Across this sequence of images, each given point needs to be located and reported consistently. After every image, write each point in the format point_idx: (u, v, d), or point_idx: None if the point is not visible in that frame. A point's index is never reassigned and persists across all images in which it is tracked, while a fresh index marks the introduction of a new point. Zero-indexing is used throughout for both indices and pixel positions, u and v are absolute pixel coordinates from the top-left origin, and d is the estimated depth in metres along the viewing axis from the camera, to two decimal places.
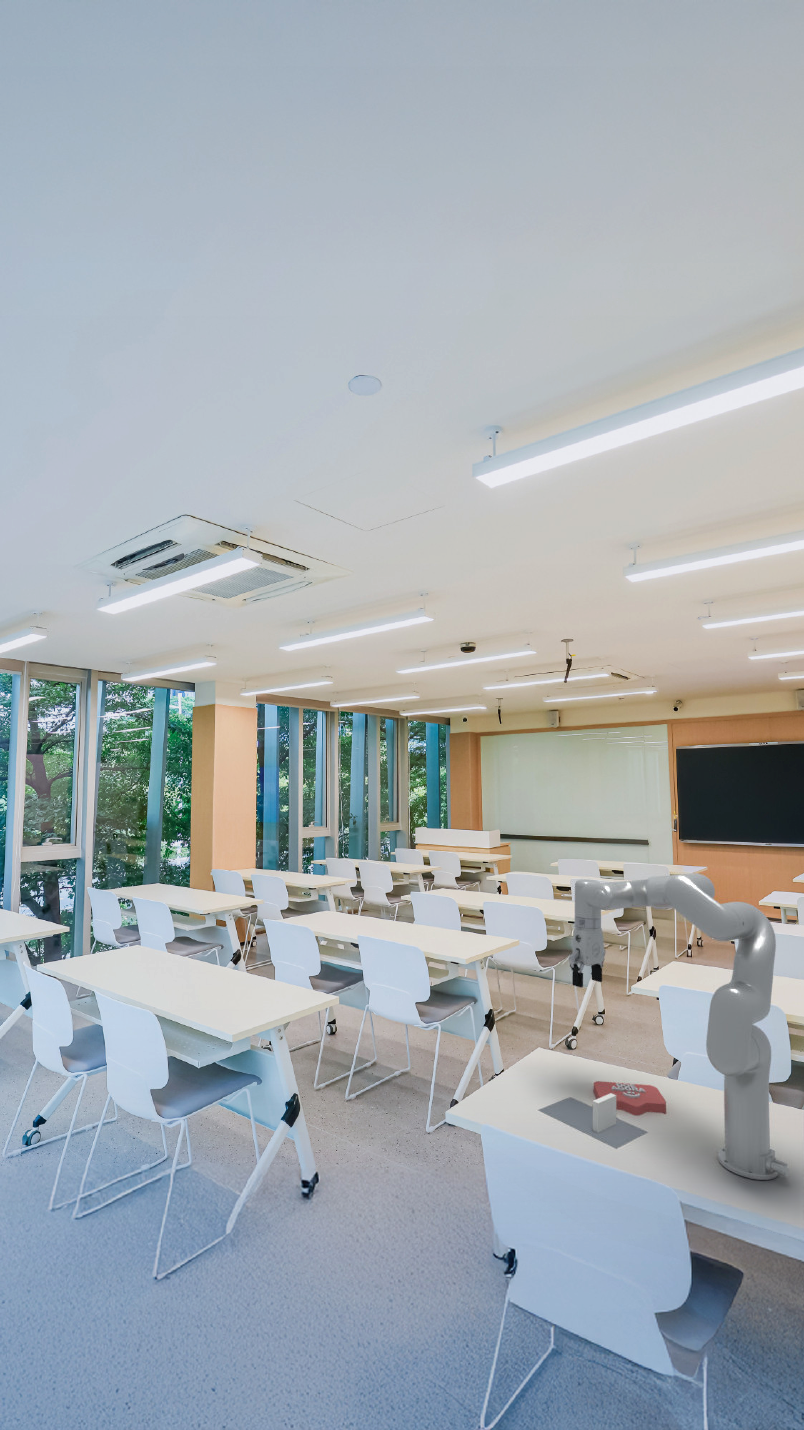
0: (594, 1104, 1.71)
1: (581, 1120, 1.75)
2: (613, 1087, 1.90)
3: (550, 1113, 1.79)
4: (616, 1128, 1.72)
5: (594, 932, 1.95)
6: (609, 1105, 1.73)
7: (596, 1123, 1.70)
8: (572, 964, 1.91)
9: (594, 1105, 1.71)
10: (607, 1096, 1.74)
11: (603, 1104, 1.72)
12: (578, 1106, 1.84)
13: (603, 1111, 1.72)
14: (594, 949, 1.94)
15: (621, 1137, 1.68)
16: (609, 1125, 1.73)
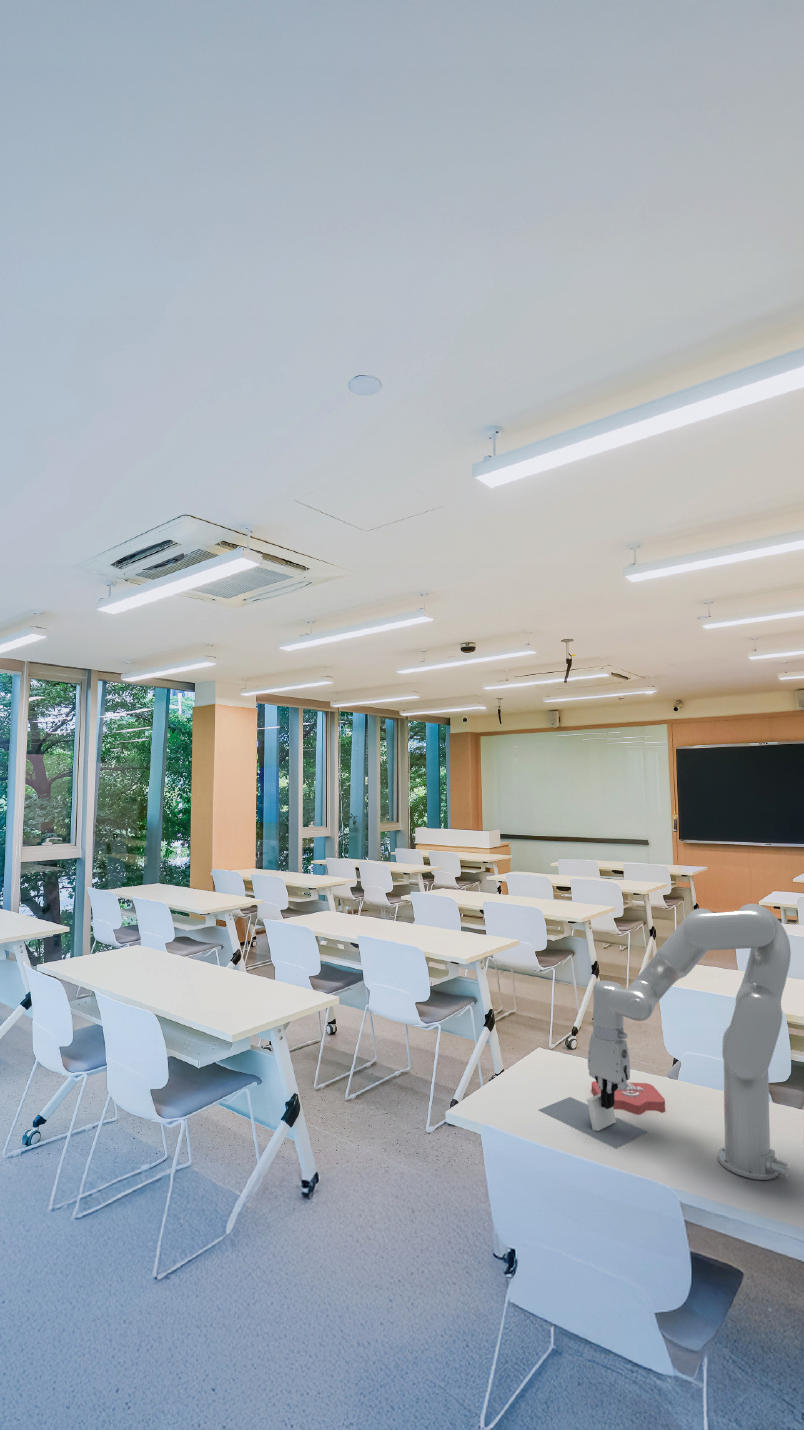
0: (588, 1102, 1.72)
1: (581, 1120, 1.75)
2: None
3: (550, 1113, 1.79)
4: (616, 1128, 1.72)
5: None
6: None
7: (594, 1121, 1.71)
8: None
9: (589, 1103, 1.72)
10: None
11: (597, 1101, 1.73)
12: (578, 1106, 1.84)
13: (599, 1108, 1.73)
14: None
15: (621, 1137, 1.68)
16: (608, 1123, 1.73)
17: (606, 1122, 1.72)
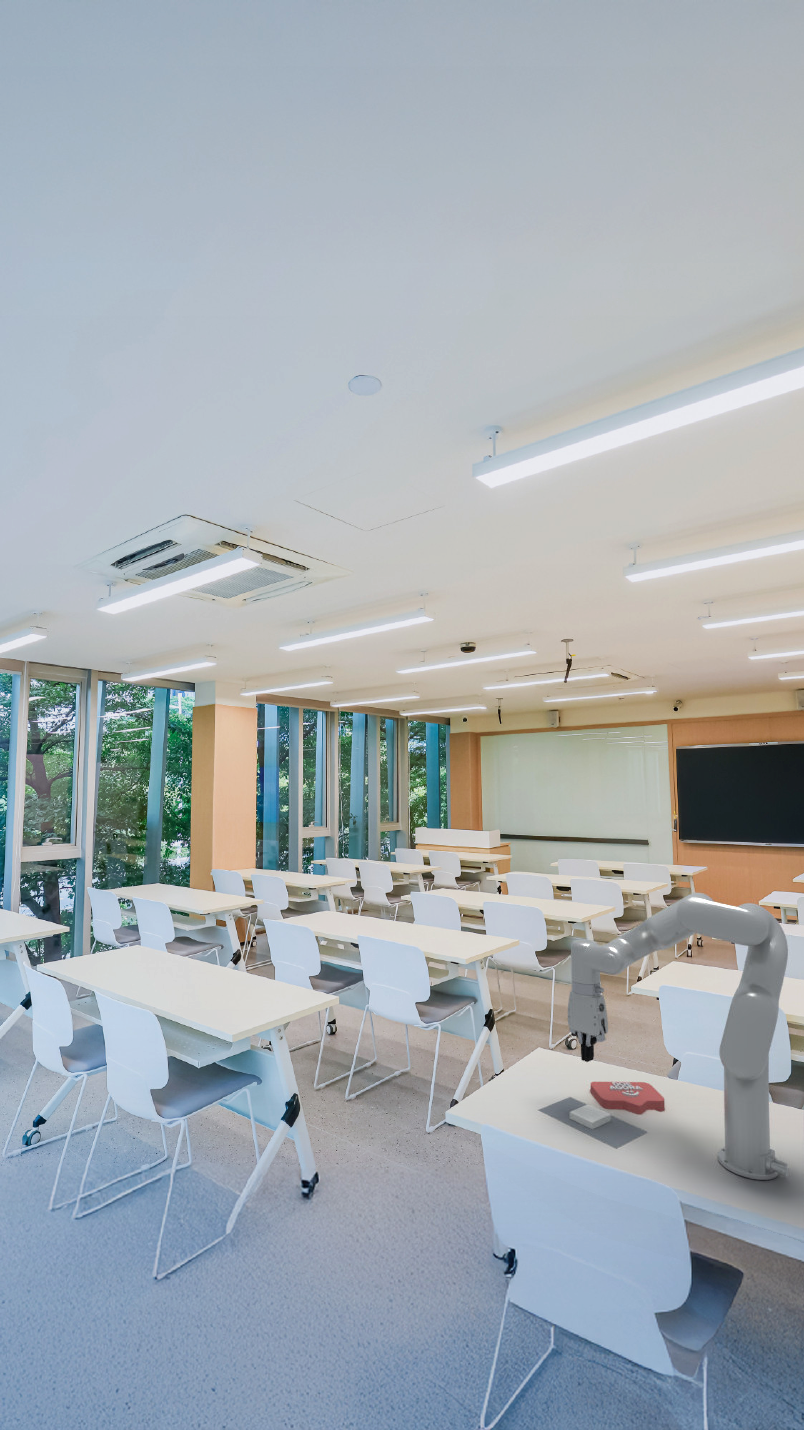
0: (571, 1117, 1.76)
1: None
2: (611, 1087, 1.90)
3: (550, 1113, 1.79)
4: (616, 1128, 1.72)
5: None
6: (586, 1109, 1.78)
7: (585, 1121, 1.73)
8: None
9: (572, 1117, 1.76)
10: None
11: (577, 1111, 1.77)
12: (578, 1106, 1.84)
13: (583, 1113, 1.76)
14: None
15: (621, 1137, 1.68)
16: (602, 1116, 1.74)
17: (598, 1117, 1.74)
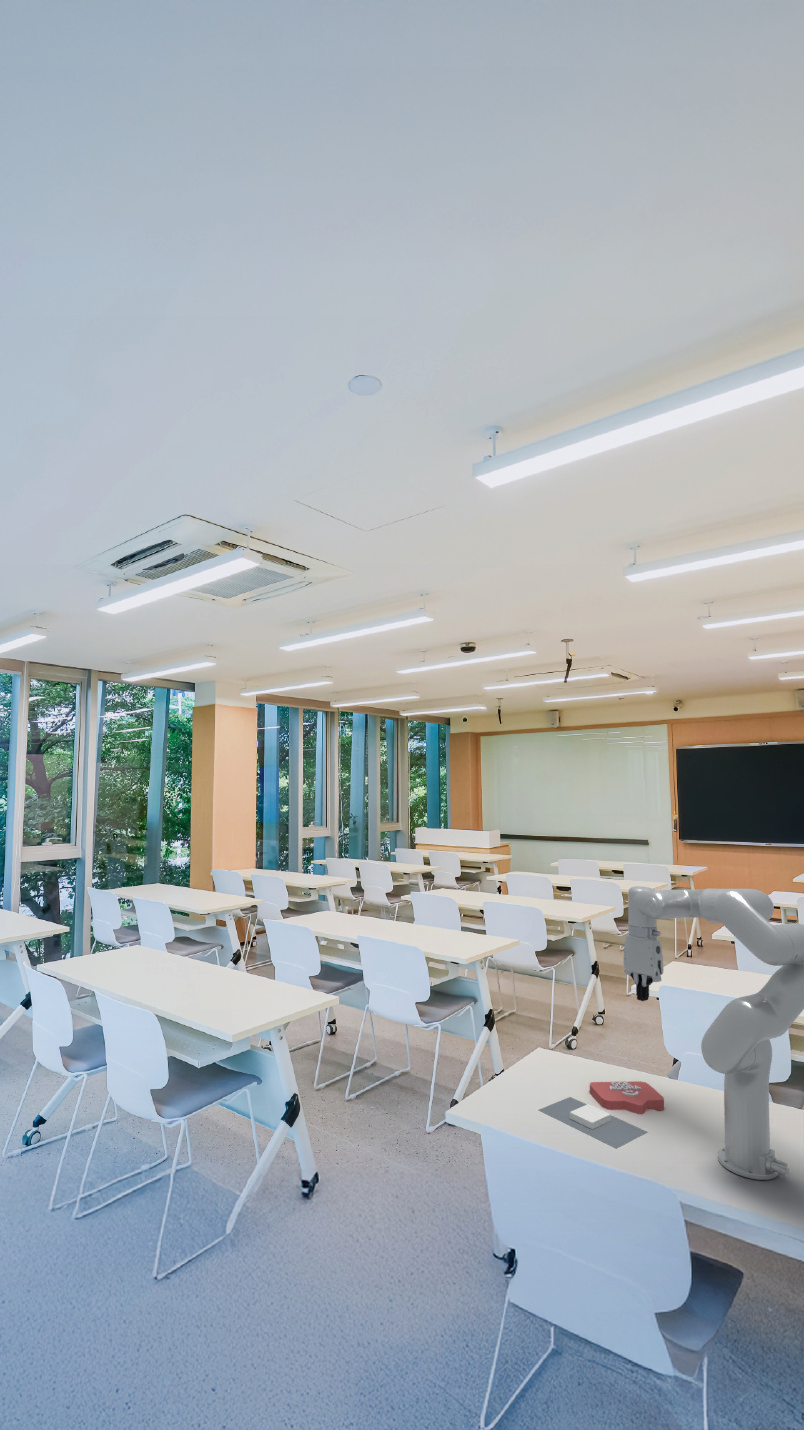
0: (571, 1117, 1.76)
1: None
2: (611, 1087, 1.90)
3: (550, 1113, 1.79)
4: (616, 1128, 1.72)
5: None
6: (586, 1109, 1.78)
7: (585, 1121, 1.73)
8: None
9: (572, 1117, 1.76)
10: None
11: (577, 1111, 1.77)
12: (578, 1106, 1.84)
13: (583, 1113, 1.76)
14: None
15: (621, 1137, 1.68)
16: (602, 1116, 1.74)
17: (598, 1117, 1.74)
